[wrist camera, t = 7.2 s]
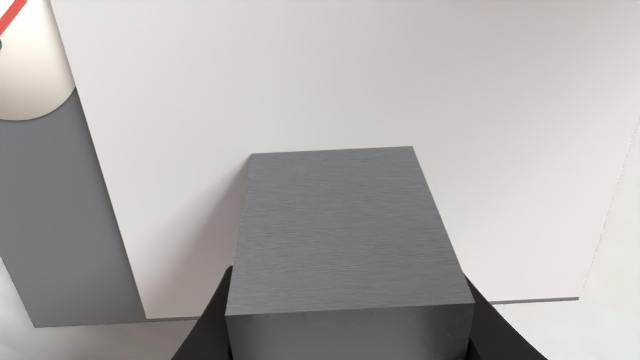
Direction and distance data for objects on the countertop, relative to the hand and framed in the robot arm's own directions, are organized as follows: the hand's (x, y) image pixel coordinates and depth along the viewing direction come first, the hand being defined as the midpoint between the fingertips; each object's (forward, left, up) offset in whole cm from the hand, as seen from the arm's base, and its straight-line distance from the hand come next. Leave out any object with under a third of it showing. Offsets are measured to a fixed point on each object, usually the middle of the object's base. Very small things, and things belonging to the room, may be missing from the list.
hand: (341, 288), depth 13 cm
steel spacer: (0, +1, -3) cm, 3 cm away
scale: (-1, +4, -5) cm, 7 cm away
